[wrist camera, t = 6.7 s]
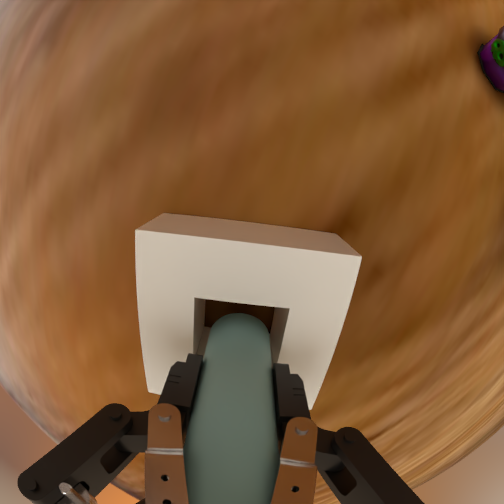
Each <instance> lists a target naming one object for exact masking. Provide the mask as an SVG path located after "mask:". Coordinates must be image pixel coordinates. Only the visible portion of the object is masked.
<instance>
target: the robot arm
mask: <svg viewBox="0 0 504 504" xmlns="http://www.w3.org/2000/svg"><path fill="white" fill-rule="evenodd" d="M202 364H203V355H198V354H192V353H188V356H187V359H186V362H180V361H177V362H176V363H175V364H173V365H172V366H171V368H170V371H169V373H168V376H167V379H166V382H165V384H164V387H163V390H162V393H161V396H160V398H159V401H158V403H157V405H155V406H153V407H152V408H151V409H150V410H148V411H144V412H130V411H129V409H128V408H127V407H126V406H124V405H121V404H117V403H113V404H109V405H107V406H105V407H104V408H103V409H101V410H100V411H99V412H98V413H97V414H95V415H94V416H93V417H92V418H90V419H89V420H88V421H87V422H86V423H84V424H83V425H82V426H81V427H79V428H78V429H77V430H76V431H75V432H73V433H72V434H71V435H70V436H68V437H67V438H66V439H65V440H63V441H62V442H61V443H60V444H58V445H57V446H56V447H55V448H54V449H52V450H51V451H50V452H48V453H47V454H46V455H45V456H43V457H42V458H41V459H40V460H38V461H37V462H36V463H34V464H33V465H32V466H31V467H29V468H28V469H27V470H25V471H24V472H23V473H21V474H20V476H19V478H18V488H19V490H20V491H21V493H22V494H23V495H24V496H25V497H26V498H27V499H29V500H30V501H32V503H34V504H97V501H96V499H95V497H96V496H97V495H98V494H99V493H100V492H101V491H102V490H103V489H104V488H105V487H106V486H107V485H108V484H109V483H110V482H111V481H112V480H113V479H114V478H115V477H116V476H117V475H118V474H119V473H120V472H121V471H122V470H123V469H124V468H125V467H126V466H127V465H128V464H129V463H130V462H131V461H132V460H133V458H134V457H135V456H136V455H137V454H138V453H139V452H145V498H144V499H143V500H141V501H139V502H138V503H136V504H189V499H188V491H187V483H186V473H185V463H184V452H183V448H184V442H185V438H186V434H187V429H188V424H189V420H190V417H191V412H192V408H193V403H194V399H195V395H196V390H197V386H198V381H199V377H200V373H201V368H202ZM272 374H273V386H274V398H275V411H276V423H277V436H278V449H279V459H278V464H277V470H276V475H275V480H274V485H273V490H272V494H271V499H270V503H269V504H313V500H314V493H315V486H316V477H317V470H318V471H319V473H320V474H321V476H322V477H323V479H324V480H325V482H326V483H327V484H328V486H329V487H330V489H331V490H332V492H333V493H334V494H335V496H336V497H337V499H338V500H339V501H340V503H341V504H424V503H423V502H422V501H421V500H420V498H419V497H418V496H417V495H416V494H415V493H414V492H413V491H412V490H411V489H410V488H409V487H408V485H407V484H406V483H405V482H404V481H403V480H402V479H401V478H400V477H399V475H398V474H397V473H396V472H395V471H394V470H393V469H392V468H391V467H390V465H389V464H388V463H387V462H386V461H385V460H384V459H383V457H382V456H381V455H380V454H379V453H378V452H377V451H376V449H375V448H374V447H373V446H372V445H371V444H370V443H369V441H368V440H367V439H366V438H365V437H364V436H363V434H362V433H361V432H360V431H359V430H357V429H355V428H352V427H344V428H341V429H339V430H338V431H337V432H333V431H328V430H324V429H321V428H319V427H317V425H316V424H315V423H314V422H313V421H312V420H311V417H310V412H309V407H308V402H307V398H306V393H305V390H304V389H305V388H304V383H303V380H302V379H301V378H300V376H299V375H298V374H290V369H289V364H282V363H274V364H273V367H272Z"/></svg>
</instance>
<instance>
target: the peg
mask: <svg viewBox="0 0 504 504" xmlns="http://www.w3.org/2000/svg"><path fill="white" fill-rule="evenodd" d="M183 452H184V463H185V473H186V483H187V491H188V499H189V504H269V503H270V499H271V494H272V490H273V485H274V480H275V475H276V470H277V464H278V459H279V449H278V436H277V423H276V411H275V398H274V386H273V374H272V362H271V350H270V339H269V332H268V329H267V328H266V326H265V325H264V323H263V322H262V321H260V320H259V319H258V318H256V317H254V316H252V315H249V314H244V313H232V314H228V315H225V316H223V317H221V318H219V319H218V320H217V321H216V322H215V323H214V324H213V326H212V328H211V330H210V334H209V338H208V342H207V346H206V350H205V355H204V359H203V364H202V368H201V373H200V377H199V381H198V386H197V390H196V395H195V399H194V403H193V408H192V412H191V417H190V420H189V424H188V429H187V434H186V438H185V443H184V448H183Z"/></svg>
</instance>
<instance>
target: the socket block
mask: <svg viewBox="0 0 504 504" xmlns="http://www.w3.org/2000/svg"><path fill="white" fill-rule="evenodd" d="M135 255H136V286H137V303H138V316H139V327H140V337H141V346H142V354H143V361H144V368H145V375H146V381H147V387H148V392H151V393H155V394H160V395H161V393H162V390H163V387H164V384H165V382H166V379H167V376H168V373H169V371H170V368H171V366H172V365H173V364H175V363H176V362H177V361H180V362H186V359H187V356H188V353H192V354H198V355H203V359H204V355H205V350H206V346H207V342H208V338H209V334H210V330H211V328H212V327H204V323H205V304H206V299H210V300H217V301H225V302H234V303H242V304H251V305H261V306H271V307H275V311H274V316H273V321H272V326H271V332H270V334H269V339H270V350H271V362H272V367H273V364H274V363H282V364H289V369H290V374H298V375H299V376H300V378H301V379H302V380H303V383H304V388H305V389H304V390H305V393H306V398H307V402H308V407H309V409H312V407H313V404H314V402H315V400H316V397H317V395H318V392H319V390H320V387H321V385H322V382H323V380H324V377H325V375H326V372H327V369H328V367H329V364H330V361H331V359H332V356H333V353H334V350H335V347H336V344H337V342H338V339H339V336H340V333H341V330H342V326H343V323H344V320H345V317H346V314H347V310H348V307H349V304H350V300H351V297H352V293H353V290H354V286H355V283H356V279H357V275H358V271H359V267H360V263H361V259H362V256H361V255H360V254H359V253H357V252H356V251H355V250H354V249H353V248H352V247H351V246H350V245H348V244H347V243H346V242H345V241H344V240H343V239H342V238H340V237H339V236H338V235H337V234H335V233H328V232H321V231H314V230H306V229H299V228H292V227H284V226H276V225H269V224H261V223H252V222H244V221H236V220H227V219H218V218H209V217H200V216H190V215H181V214H170V213H163V214H161V215H159V216H158V217H156V218H154V219H152V220H151V221H149V222H147V223H146V224H144V225H142V226H141V227H139V228H137V229H136V230H135Z"/></svg>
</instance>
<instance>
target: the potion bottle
mask: <svg viewBox="0 0 504 504" xmlns="http://www.w3.org/2000/svg"><path fill="white" fill-rule="evenodd" d="M477 53H478V56H479V59H480V63H481V66H482V70H483V73H484V74H485V75H486V77H487V78H488V80H489V81H490V83H491V84H492V86H493V87H494V89H495V90H498V91H500V92H503V93H504V26H503V27H502V28H500V30H499V33H498V35H496V36H495V37H494V38H493V39H491V40H490V41H489V42H488V43H487V44H485V45H483V44H482V45H481V47H480V49H479V50H478V52H477Z"/></svg>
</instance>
